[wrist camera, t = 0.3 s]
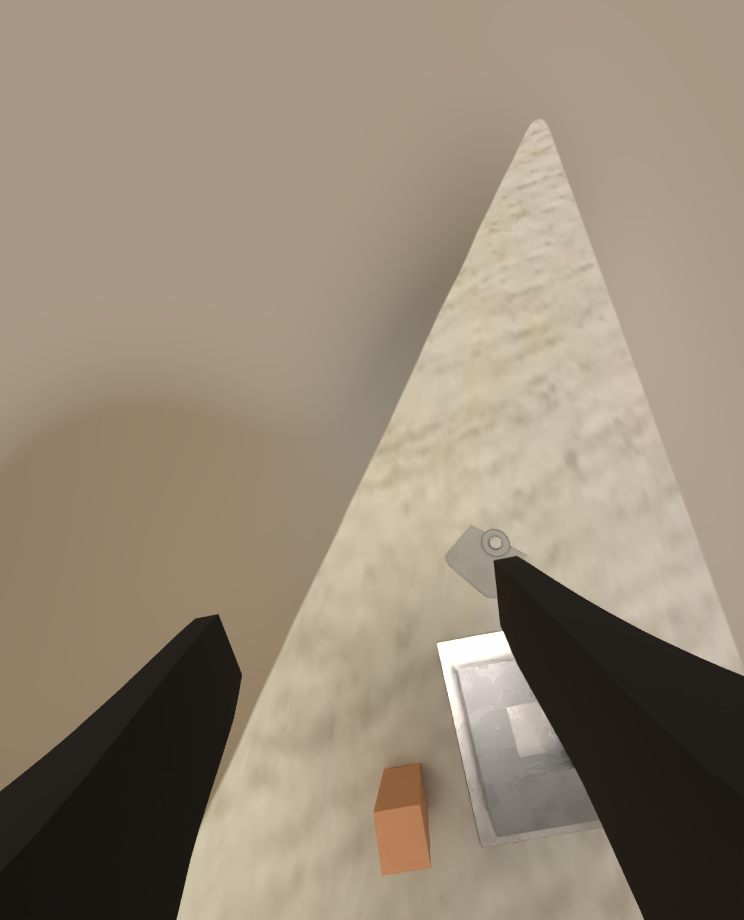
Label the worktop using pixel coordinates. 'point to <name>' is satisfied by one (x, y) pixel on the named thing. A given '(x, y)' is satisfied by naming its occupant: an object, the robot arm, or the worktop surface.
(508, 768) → the slotted block
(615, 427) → the worktop surface
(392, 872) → the tan rectangular block
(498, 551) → the mounting bracket
